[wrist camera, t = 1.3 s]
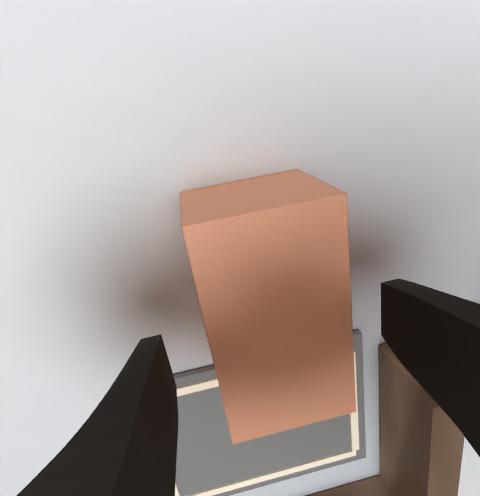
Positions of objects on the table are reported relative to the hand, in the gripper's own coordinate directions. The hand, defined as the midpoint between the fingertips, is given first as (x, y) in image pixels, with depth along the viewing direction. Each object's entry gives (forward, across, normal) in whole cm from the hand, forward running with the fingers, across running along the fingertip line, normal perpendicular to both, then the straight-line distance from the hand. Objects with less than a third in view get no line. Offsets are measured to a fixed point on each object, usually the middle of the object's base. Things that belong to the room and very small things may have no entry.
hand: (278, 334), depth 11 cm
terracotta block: (+4, 0, 0) cm, 4 cm away
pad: (+4, +1, +8) cm, 9 cm away
